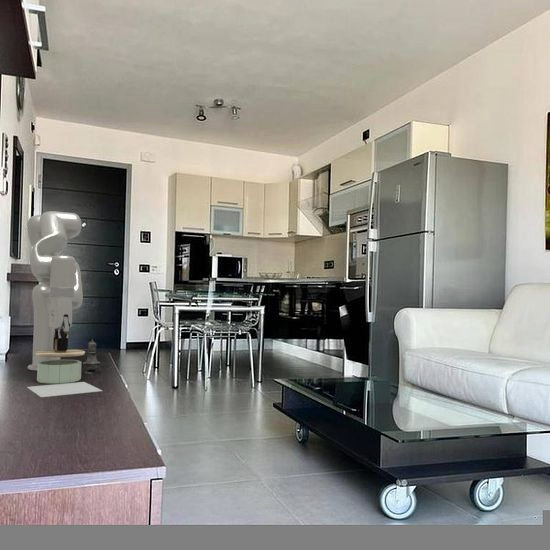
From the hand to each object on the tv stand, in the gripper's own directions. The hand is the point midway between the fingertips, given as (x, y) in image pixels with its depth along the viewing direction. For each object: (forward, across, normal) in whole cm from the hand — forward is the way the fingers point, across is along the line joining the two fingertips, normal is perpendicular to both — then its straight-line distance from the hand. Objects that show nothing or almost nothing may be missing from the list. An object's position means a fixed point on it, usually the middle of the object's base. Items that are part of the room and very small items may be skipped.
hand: (60, 349), depth 169 cm
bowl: (+10, 0, 0) cm, 10 cm away
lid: (+2, 0, 0) cm, 2 cm away
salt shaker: (+10, -11, +14) cm, 21 cm away
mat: (+10, +16, -3) cm, 19 cm away
